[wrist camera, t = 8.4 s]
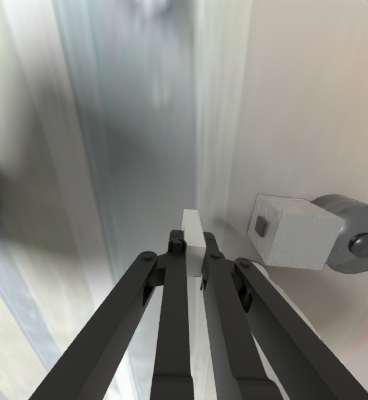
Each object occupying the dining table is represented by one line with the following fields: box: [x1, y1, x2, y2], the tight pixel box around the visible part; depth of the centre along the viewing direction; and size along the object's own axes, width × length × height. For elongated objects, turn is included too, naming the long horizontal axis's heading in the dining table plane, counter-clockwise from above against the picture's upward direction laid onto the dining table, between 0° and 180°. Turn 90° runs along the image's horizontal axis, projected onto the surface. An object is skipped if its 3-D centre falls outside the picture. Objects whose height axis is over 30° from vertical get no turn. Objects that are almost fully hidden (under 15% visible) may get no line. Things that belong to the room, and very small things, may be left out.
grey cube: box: [247, 194, 345, 270], centre depth 20 cm, size 6×6×6 cm
